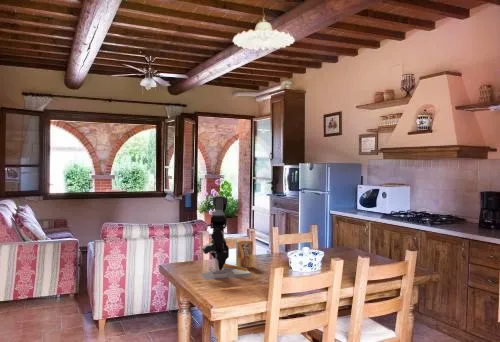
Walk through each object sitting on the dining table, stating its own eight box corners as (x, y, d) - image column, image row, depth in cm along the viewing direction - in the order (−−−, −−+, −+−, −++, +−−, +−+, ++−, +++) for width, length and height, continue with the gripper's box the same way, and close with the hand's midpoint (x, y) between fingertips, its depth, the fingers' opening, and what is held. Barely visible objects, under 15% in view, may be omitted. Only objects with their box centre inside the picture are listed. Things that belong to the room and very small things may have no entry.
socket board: (200, 275, 228) (200, 267, 228) (246, 271, 237) (246, 263, 237) (205, 282, 216) (205, 273, 216) (254, 277, 225) (254, 269, 225)
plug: (209, 274, 226) (209, 257, 226) (223, 273, 228) (223, 256, 228) (213, 278, 219) (213, 260, 219) (226, 277, 222) (226, 259, 221)
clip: (217, 265, 231) (217, 263, 231) (220, 264, 232) (220, 262, 232) (245, 271, 219) (245, 268, 219) (247, 270, 221) (247, 267, 221)
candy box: (250, 265, 250) (250, 239, 249) (252, 267, 246) (253, 240, 245) (235, 266, 247) (236, 240, 246) (238, 268, 243) (238, 241, 242)
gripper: (199, 236, 229) (199, 265, 230) (207, 242, 212) (207, 274, 212) (219, 235, 233) (219, 263, 234) (229, 241, 216) (229, 272, 216)
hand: (218, 268), depth 224 cm, fingers open, 8 cm apart
